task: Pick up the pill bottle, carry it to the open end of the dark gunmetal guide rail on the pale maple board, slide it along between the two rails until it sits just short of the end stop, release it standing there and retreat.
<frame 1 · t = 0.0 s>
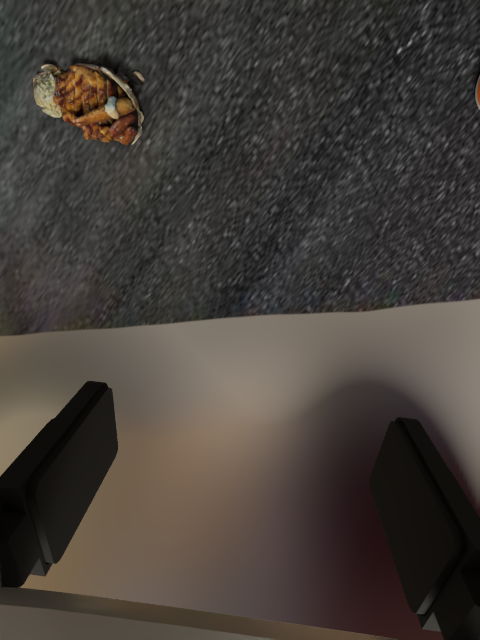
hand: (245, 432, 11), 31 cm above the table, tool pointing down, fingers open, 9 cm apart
orange brown oval heap: (93, 106, 35), on the table
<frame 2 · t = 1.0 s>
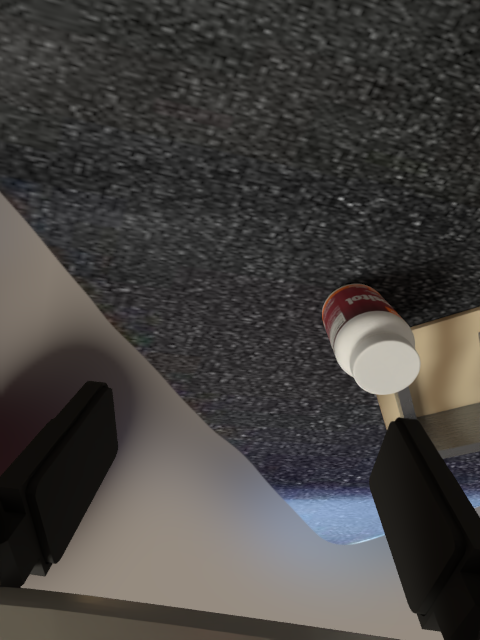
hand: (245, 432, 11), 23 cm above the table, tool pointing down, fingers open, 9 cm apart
pill bottle: (350, 309, 33), on the table
maple board: (440, 375, 35), on the table
gunmetal guide rail: (440, 375, 35), resting on maple board
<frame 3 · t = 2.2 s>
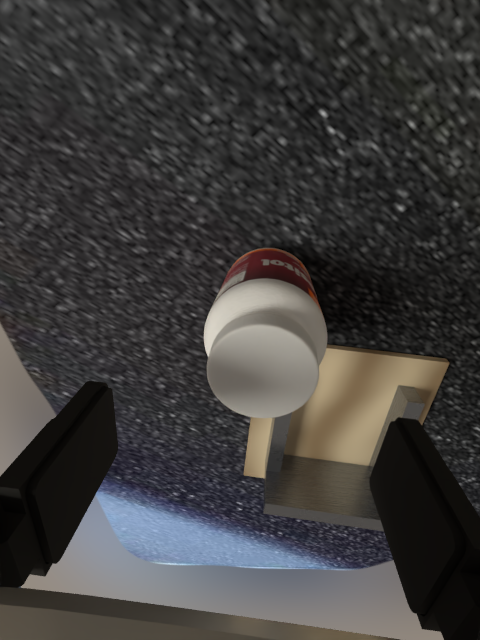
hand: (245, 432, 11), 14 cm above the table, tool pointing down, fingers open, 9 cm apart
pill bottle: (267, 287, 23), on the table
maple board: (332, 417, 27), on the table
gunmetal guide rail: (332, 417, 27), resting on maple board
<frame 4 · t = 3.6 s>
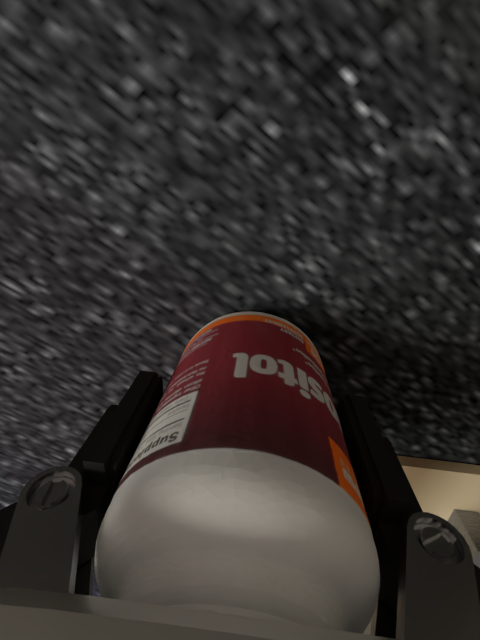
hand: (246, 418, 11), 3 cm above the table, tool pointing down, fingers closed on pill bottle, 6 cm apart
pill bottle: (251, 367, 14), on the table, touching gripper
maple board: (351, 540, 19), on the table
gunmetal guide rail: (351, 540, 19), resting on maple board
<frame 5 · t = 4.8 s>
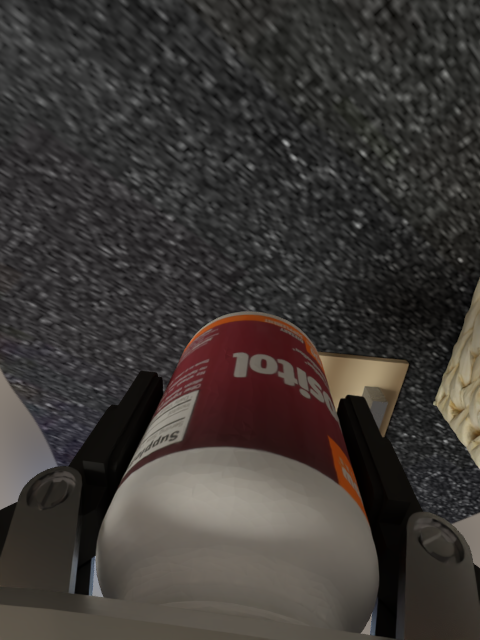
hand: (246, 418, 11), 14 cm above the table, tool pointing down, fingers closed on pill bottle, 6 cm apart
pill bottle: (251, 366, 14), point 11 cm above the table, touching gripper
maple board: (307, 418, 29), on the table
gunmetal guide rail: (307, 418, 29), resting on maple board
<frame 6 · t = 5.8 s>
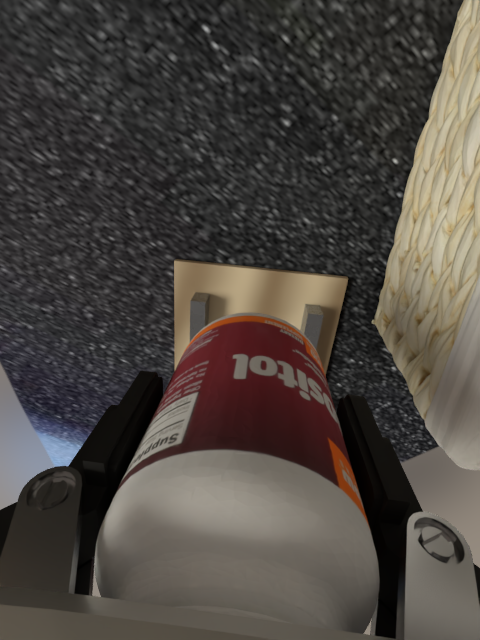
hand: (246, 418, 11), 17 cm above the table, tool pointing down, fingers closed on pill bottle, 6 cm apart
pill bottle: (250, 367, 14), point 13 cm above the table, touching gripper
maple board: (252, 342, 29), on the table
gunmetal guide rail: (252, 342, 29), resting on maple board
when the fingers open (4 cm above the table, at t = 9.8 s): pill bottle stays where it is, resting on maple board.
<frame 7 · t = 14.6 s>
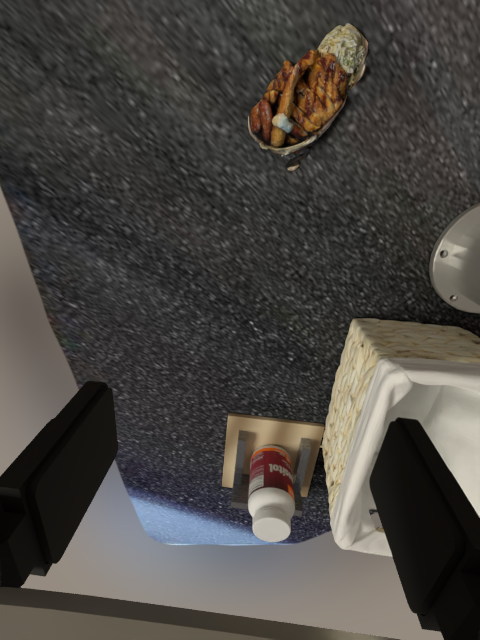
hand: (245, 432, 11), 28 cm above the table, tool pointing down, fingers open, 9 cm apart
pill bottle: (270, 457, 49), resting on maple board
storage basket: (386, 389, 43), on the table
maple board: (270, 453, 49), on the table
gunmetal guide rail: (270, 453, 49), resting on maple board
orange brown oval heap: (305, 96, 30), on the table
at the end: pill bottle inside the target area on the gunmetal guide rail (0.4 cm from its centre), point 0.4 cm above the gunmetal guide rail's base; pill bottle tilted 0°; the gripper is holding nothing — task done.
